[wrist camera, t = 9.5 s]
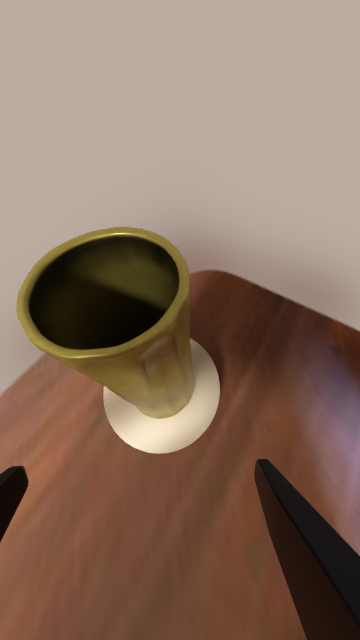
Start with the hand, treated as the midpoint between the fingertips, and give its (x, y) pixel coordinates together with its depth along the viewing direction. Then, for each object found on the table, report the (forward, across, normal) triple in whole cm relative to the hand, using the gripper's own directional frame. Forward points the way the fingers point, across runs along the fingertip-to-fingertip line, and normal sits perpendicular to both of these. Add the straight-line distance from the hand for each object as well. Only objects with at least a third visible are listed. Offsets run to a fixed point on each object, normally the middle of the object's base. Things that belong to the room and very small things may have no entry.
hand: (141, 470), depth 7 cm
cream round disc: (+12, 0, +5) cm, 14 cm away
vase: (+10, 0, +3) cm, 11 cm away
